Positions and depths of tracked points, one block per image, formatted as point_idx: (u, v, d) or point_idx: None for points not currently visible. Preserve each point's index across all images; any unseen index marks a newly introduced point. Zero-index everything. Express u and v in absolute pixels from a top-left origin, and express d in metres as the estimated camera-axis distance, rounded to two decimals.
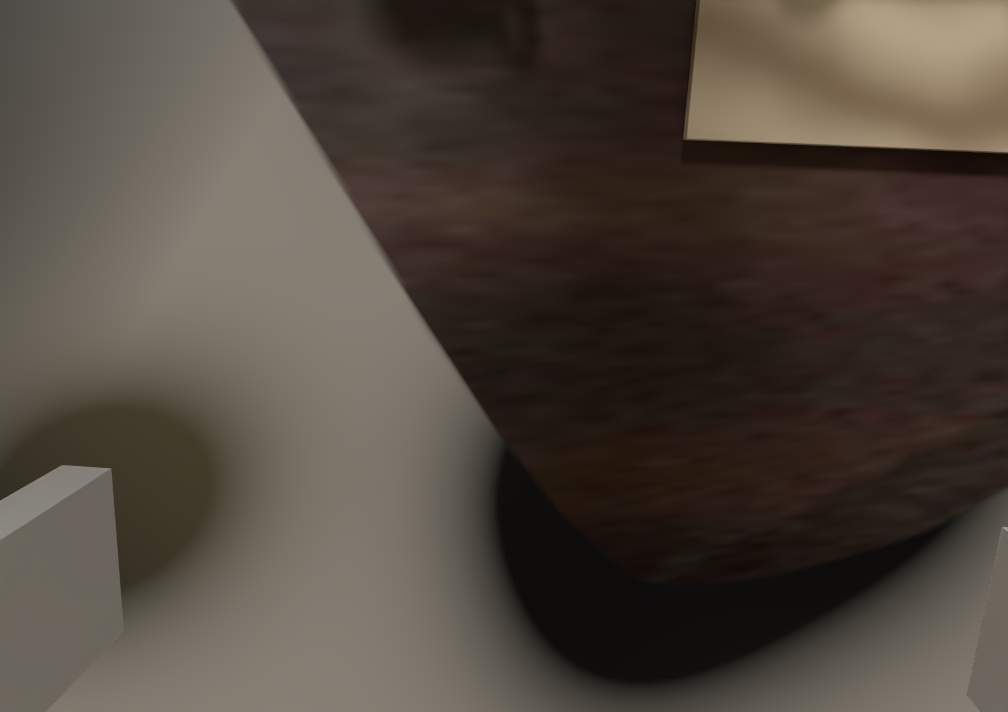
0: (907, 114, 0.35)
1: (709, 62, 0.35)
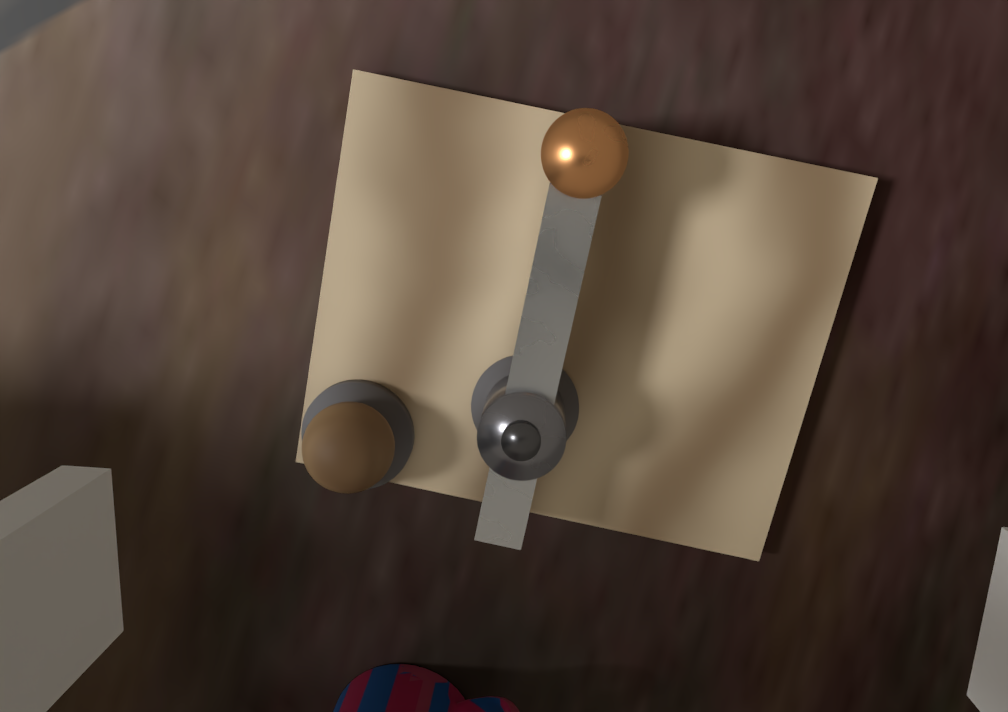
0: (792, 327, 0.29)
1: (684, 529, 0.31)
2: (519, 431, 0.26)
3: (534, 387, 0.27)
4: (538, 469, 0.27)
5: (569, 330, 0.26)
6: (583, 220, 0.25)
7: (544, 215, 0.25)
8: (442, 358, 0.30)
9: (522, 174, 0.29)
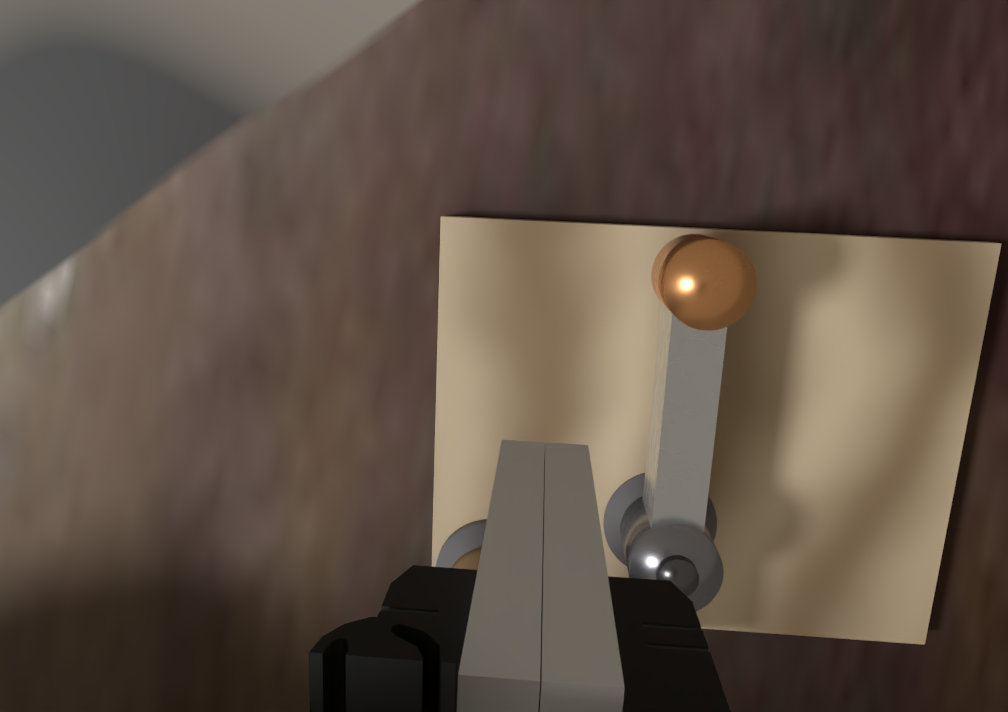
0: (929, 405, 0.28)
1: (841, 622, 0.30)
2: (675, 569, 0.25)
3: (681, 518, 0.26)
4: (697, 601, 0.26)
5: (710, 457, 0.25)
6: (711, 346, 0.24)
7: (670, 347, 0.25)
8: None
9: (627, 294, 0.28)
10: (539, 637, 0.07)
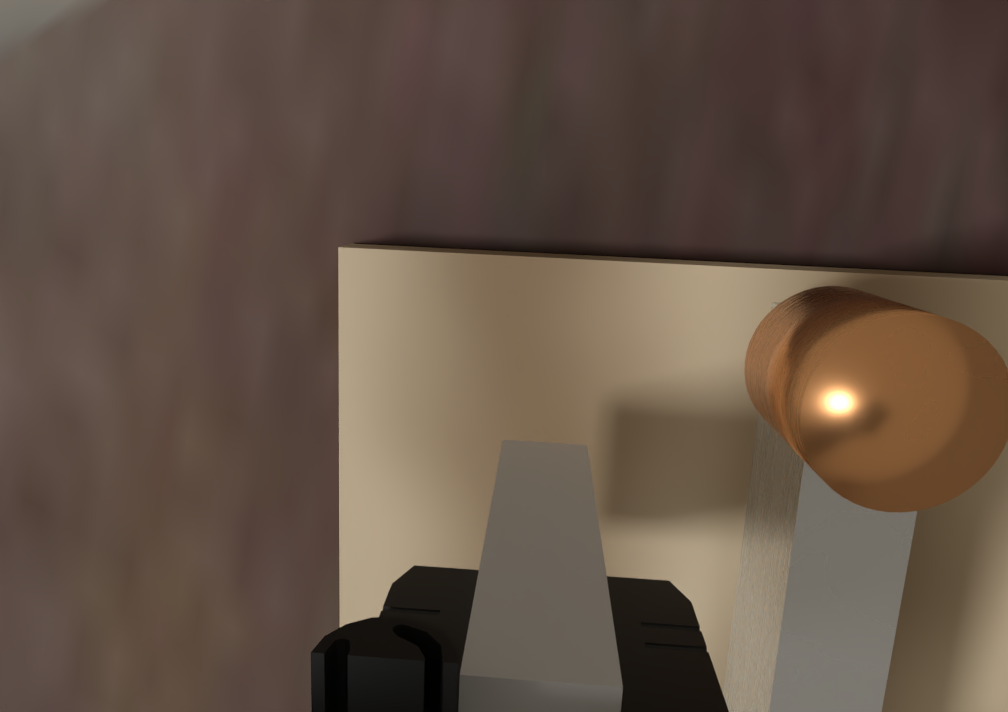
0: None
1: None
2: None
3: None
4: None
5: None
6: (885, 529, 0.12)
7: (797, 528, 0.12)
8: None
9: (689, 392, 0.15)
10: (538, 637, 0.07)
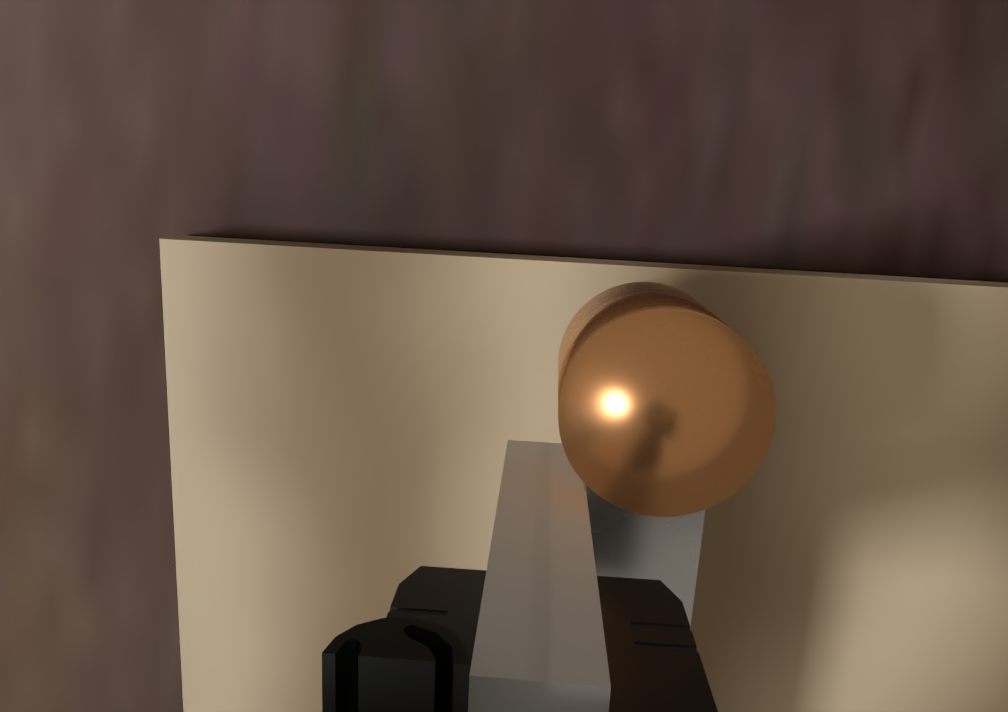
0: None
1: None
2: None
3: None
4: None
5: None
6: (673, 534, 0.11)
7: None
8: None
9: (519, 390, 0.14)
10: (526, 636, 0.07)
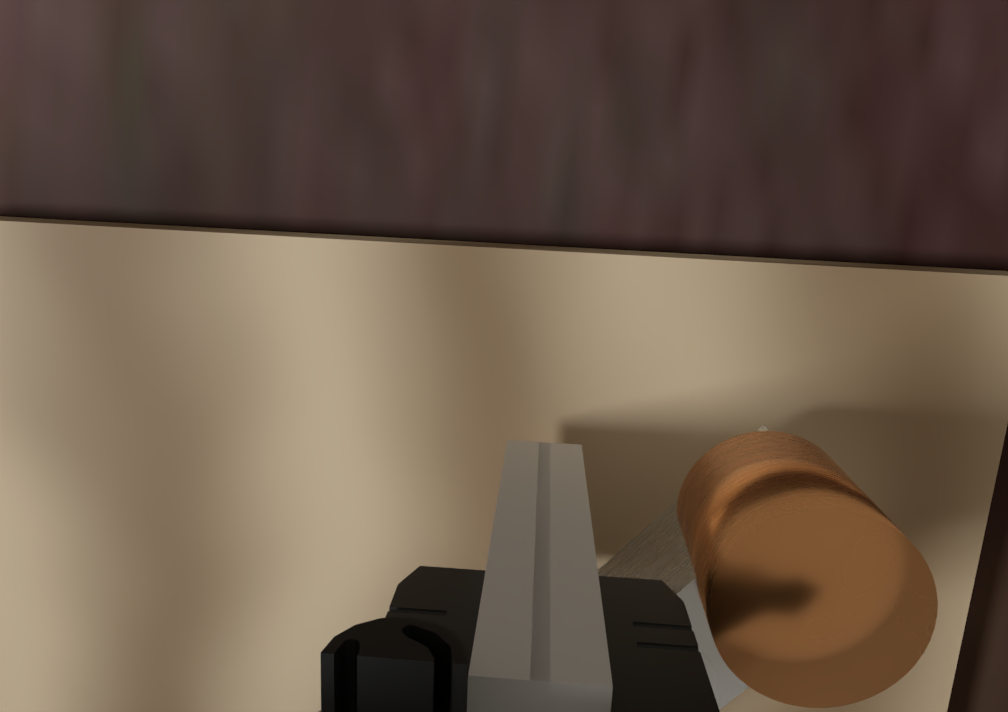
0: None
1: None
2: None
3: None
4: None
5: None
6: None
7: None
8: None
9: (291, 370, 0.14)
10: (528, 636, 0.07)
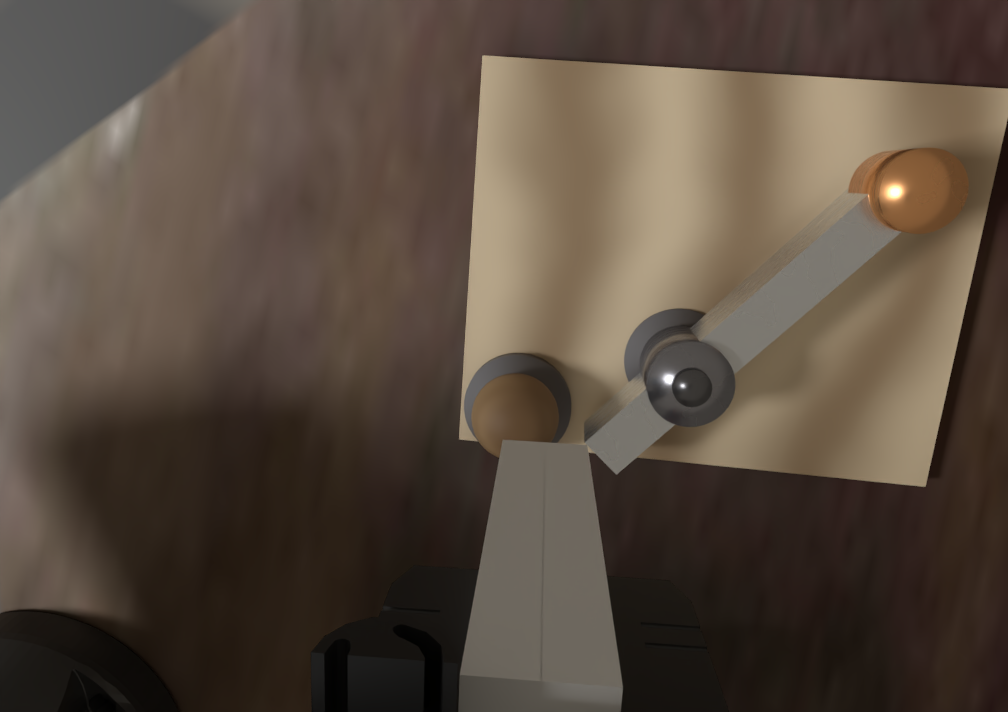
0: (939, 249, 0.29)
1: (846, 463, 0.32)
2: (698, 379, 0.27)
3: (728, 351, 0.28)
4: (685, 419, 0.28)
5: (790, 324, 0.27)
6: (869, 243, 0.26)
7: (843, 218, 0.26)
8: (592, 322, 0.31)
9: (655, 134, 0.29)
10: (538, 637, 0.07)
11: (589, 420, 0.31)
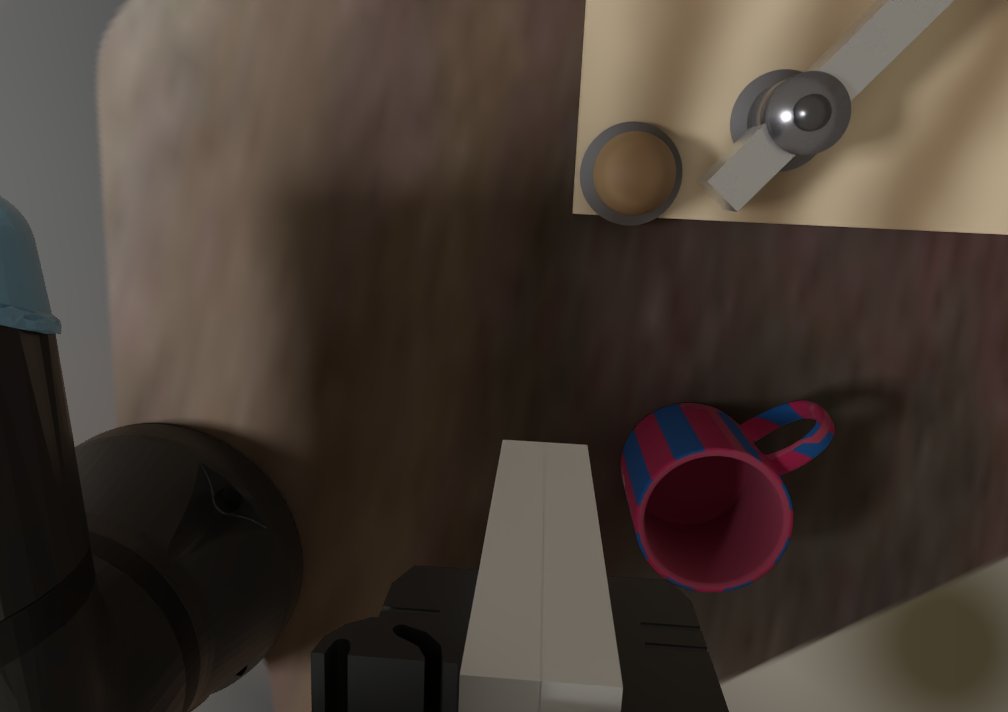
0: None
1: (938, 215, 0.34)
2: (818, 102, 0.29)
3: (842, 81, 0.30)
4: (804, 147, 0.30)
5: (900, 51, 0.30)
6: None
7: None
8: (700, 88, 0.34)
9: None
10: (537, 637, 0.07)
11: (702, 176, 0.33)
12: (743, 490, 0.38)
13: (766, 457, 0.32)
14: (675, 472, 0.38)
